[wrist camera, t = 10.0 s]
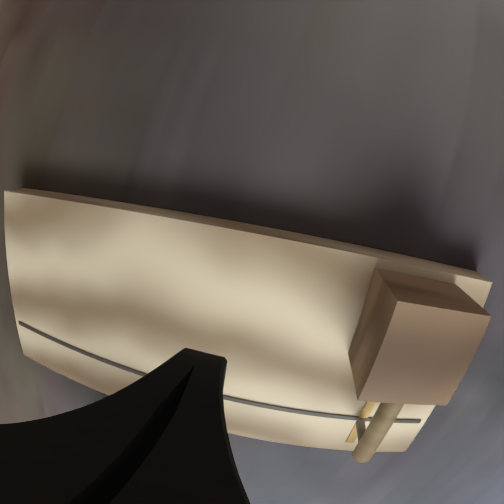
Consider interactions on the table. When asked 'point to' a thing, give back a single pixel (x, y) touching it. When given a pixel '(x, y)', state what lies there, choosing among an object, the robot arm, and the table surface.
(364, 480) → the table surface
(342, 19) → the table surface
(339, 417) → the board
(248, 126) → the table surface
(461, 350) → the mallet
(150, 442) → the robot arm
